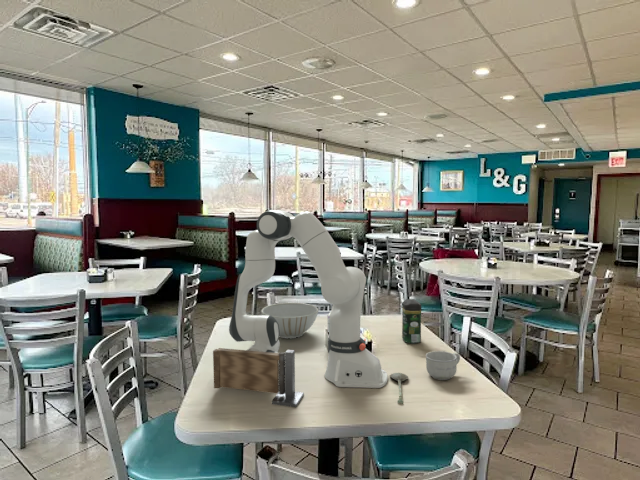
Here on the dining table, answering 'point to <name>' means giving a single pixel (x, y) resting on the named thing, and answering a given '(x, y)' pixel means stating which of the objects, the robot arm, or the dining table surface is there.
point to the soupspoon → (399, 382)
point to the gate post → (289, 384)
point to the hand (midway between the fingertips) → (239, 373)
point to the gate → (249, 370)
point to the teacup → (442, 364)
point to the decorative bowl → (292, 317)
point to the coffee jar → (411, 321)
